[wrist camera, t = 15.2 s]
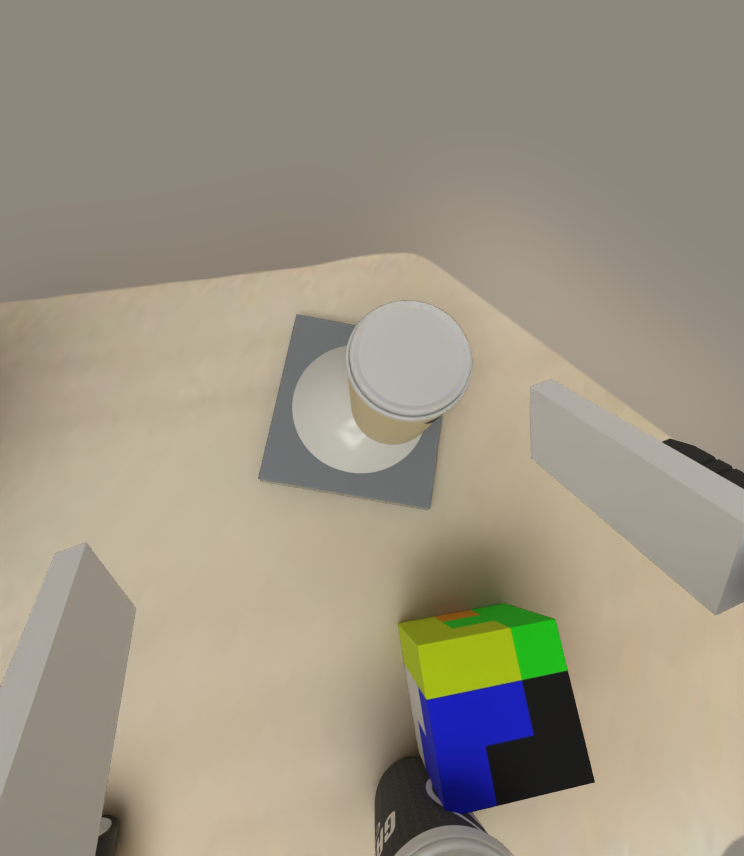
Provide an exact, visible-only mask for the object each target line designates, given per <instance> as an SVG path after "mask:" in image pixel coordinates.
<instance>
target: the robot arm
mask: <svg viewBox="0 0 744 856" xmlns="http://www.w3.org/2000/svg"><path fill="white" fill-rule="evenodd" d="M530 435H531V458H532V459H533V460H534V461H535V462H536V463H537V464H539V465H540V466H541V467H542V468H543V469H544V470H546V471H547V472H548V473H549V474H550V475H551V476H553V477H554V478H555V479H556V480H557V481H558V482H560V483H561V484H562V485H563V486H564V487H565V488H567V489H568V490H569V491H570V492H571V493H572V494H574V495H575V496H576V497H577V498H578V499H579V500H581V501H582V502H583V503H584V504H585V505H586V506H588V507H589V508H590V509H591V510H592V511H593V512H595V513H596V514H597V515H598V516H599V517H600V518H602V519H603V520H604V521H605V522H606V523H607V524H609V525H610V526H611V527H612V528H613V529H614V530H616V531H617V532H618V533H619V534H620V535H622V536H623V537H624V538H625V539H626V540H627V541H629V542H630V543H631V544H632V545H633V546H634V547H636V548H637V549H638V550H639V551H640V552H641V553H643V554H644V555H645V556H646V557H647V558H648V559H650V560H651V561H652V562H653V563H654V564H655V565H657V566H658V567H659V568H660V569H661V570H662V571H664V572H665V573H666V574H667V575H668V576H669V577H671V578H672V579H673V580H674V581H675V582H676V583H678V584H679V585H680V586H681V587H682V588H683V589H685V590H686V591H687V592H688V593H689V594H690V595H692V596H693V597H694V598H695V599H696V600H697V601H699V602H700V603H701V604H702V605H703V606H705V607H706V608H707V609H708V610H709V611H710V612H712V613H713V614H714V615H715V616H716V615H718V614H720V613H722V612H724V611H726V610H728V609H730V608H732V607H734V606H736V605H738V604H740V603H743V602H744V473H743V472H742V471H740V470H737V469H733V468H732V466H730V465H729V464H727V463H725V462H723V461H721V460H716V459H715V457H714V456H712V455H710V454H708V453H706V452H705V451H703V450H701V449H699V448H697V447H695V446H693V445H690V444H686V443H683V442H679V441H676V440H673V439H668V440H665V441H663V442H661V441H659V440H657V439H655V438H654V437H652V436H650V435H648V434H647V433H645V432H643V431H641V430H640V429H638V428H636V427H635V426H633V425H631V424H629V423H628V422H626V421H624V420H622V419H621V418H619V417H617V416H615V415H614V414H612V413H610V412H608V411H607V410H605V409H603V408H601V407H600V406H598V405H596V404H594V403H593V402H591V401H589V400H588V399H586V398H584V397H582V396H581V395H579V394H577V393H575V392H574V391H572V390H570V389H568V388H567V387H565V386H563V385H561V384H560V383H558V382H556V381H554V380H553V379H550V380H547V381H544V382H541V383H538V384H536V385H533V386H530ZM135 613H136V607H135V606H134V605H133V603H132V602H131V601H130V599H129V598H128V597H127V595H126V594H125V593H124V591H123V590H122V589H121V587H120V586H119V585H118V583H117V582H116V581H115V580H114V578H113V577H112V576H111V574H110V573H109V572H108V570H107V569H106V568H105V566H104V565H103V564H102V562H101V561H100V560H99V558H98V557H97V556H96V554H95V553H94V552H93V551H92V549H91V548H90V547H89V545H88V544H87V543H83V544H80V545H77V546H74V547H71V548H69V549H66V550H63V551H60V552H57V553H55V555H54V557H53V560H52V562H51V565H50V567H49V570H48V572H47V575H46V577H45V580H44V582H43V584H42V587H41V589H40V592H39V594H38V597H37V599H36V602H35V604H34V606H33V609H32V611H31V614H30V616H29V619H28V621H27V624H26V626H25V628H24V631H23V633H22V636H21V638H20V641H19V643H18V646H17V648H16V651H15V653H14V655H13V658H12V660H11V663H10V665H9V668H8V670H7V673H6V675H5V677H4V680H3V682H2V685H1V687H0V856H95V853H96V847H97V841H98V835H99V829H100V823H101V817H102V811H103V805H104V799H105V793H106V787H107V781H108V775H109V769H110V763H111V757H112V751H113V745H114V739H115V733H116V727H117V721H118V715H119V709H120V703H121V697H122V691H123V685H124V679H125V673H126V667H127V661H128V655H129V649H130V643H131V637H132V631H133V625H134V619H135Z"/></svg>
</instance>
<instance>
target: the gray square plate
mask: <svg viewBox="0 0 744 856" xmlns="http://www.w3.org/2000/svg"><path fill="white" fill-rule="evenodd" d="M355 327H356V325H351V324H345V323H340V322H335V321H329V320H324V319H318V318H313V317H308V316H302V315H297V314H296V319H295V323H294V327H293V331H292V336H291V340H290V344H289V349H288V353H287V357H286V361H285V366H284V370H283V374H282V378H281V383H280V387H279V391H278V396H277V400H276V404H275V408H274V413H273V417H272V421H271V426H270V430H269V434H268V438H267V443H266V447H265V451H264V455H263V460H262V464H261V468H260V473H259V477H258V479H259V480H260V481H262V482H268V483H273V484H279V485H285V486H291V487H296V488H302V489H308V490H314V491H320V492H325V493H331V494H337V495H343V496H348V497H354V498H360V499H366V500H372V501H377V502H383V503H389V504H395V505H400V506H406V507H412V508H418V509H424V510H428V509H430V507H431V499H432V491H433V483H434V475H435V467H436V459H437V451H438V443H439V435H440V427H441V419H442V415H441V416H440V417H439V418H438V419H437V420H436V421H435V422H433V423H432V424H431V425H430V426H429V427H428V428H427V429H426V430H424V431H423V432H422V433H421V434H420V435H418V436H417V437H416V438H414V439H412V440H411V441H409V442H406V443H403V444H397V445H388V444H382V443H379V442H376V441H374V440H372V439H370V438H369V437H367V436H366V435H365V434H364V433H363V432H362V431H361V430H360V429H359V427H358V426H357V424H356V422H355V420H354V418H353V414H352V409H351V401H350V391H349V380H348V374H347V369H346V360H345V359H346V348H347V344H348V341H349V338H350V336H351V333H352V331H353V330H354V328H355Z"/></svg>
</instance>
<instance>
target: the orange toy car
mask: <svg viewBox="0 0 744 856" xmlns="http://www.w3.org/2000/svg"><path fill="white" fill-rule="evenodd" d="M117 833H118V820H117V819H116V818H115V817H113V816H110V815H102V817H101V823H100V829H99V835H98V841H97V847H96V853H95V856H115V852H116V842H117Z"/></svg>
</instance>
